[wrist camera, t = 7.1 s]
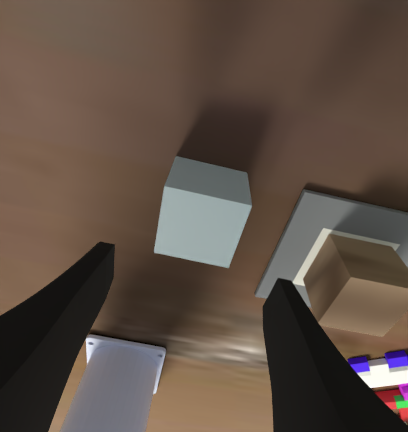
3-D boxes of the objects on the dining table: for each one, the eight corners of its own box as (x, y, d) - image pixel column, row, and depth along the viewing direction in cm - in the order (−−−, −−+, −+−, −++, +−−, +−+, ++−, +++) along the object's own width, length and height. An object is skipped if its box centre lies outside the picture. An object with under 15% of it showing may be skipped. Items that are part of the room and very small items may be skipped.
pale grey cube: (228, 228, 20) (228, 268, 17) (165, 214, 20) (153, 252, 16) (247, 171, 18) (252, 205, 14) (176, 155, 17) (164, 186, 14)
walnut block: (358, 289, 22) (382, 337, 18) (302, 279, 22) (316, 324, 18) (391, 246, 19) (426, 292, 16) (329, 233, 19) (350, 276, 16)
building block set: (516, 326, 24) (569, 380, 21) (492, 424, 34) (525, 472, 31) (242, 370, 31) (244, 416, 28) (289, 441, 41) (295, 482, 38)
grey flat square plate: (368, 314, 24) (370, 319, 24) (254, 292, 23) (255, 296, 23) (449, 221, 18) (453, 225, 18) (303, 189, 18) (304, 192, 17)
